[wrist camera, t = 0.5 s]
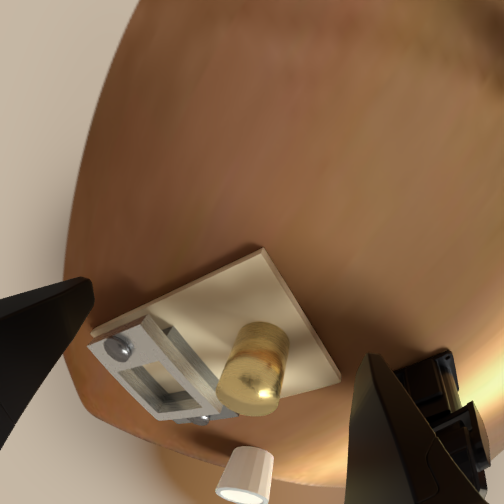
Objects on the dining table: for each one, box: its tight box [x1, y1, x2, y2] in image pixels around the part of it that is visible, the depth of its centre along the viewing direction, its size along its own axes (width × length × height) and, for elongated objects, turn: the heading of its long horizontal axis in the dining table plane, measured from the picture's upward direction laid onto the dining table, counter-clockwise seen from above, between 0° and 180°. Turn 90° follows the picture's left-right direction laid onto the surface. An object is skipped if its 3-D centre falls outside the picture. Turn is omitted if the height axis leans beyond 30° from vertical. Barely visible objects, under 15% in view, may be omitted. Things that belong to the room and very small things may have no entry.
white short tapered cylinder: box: [215, 446, 274, 504], centre depth 33 cm, size 7×7×7 cm
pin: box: [216, 321, 290, 416], centre depth 23 cm, size 4×4×6 cm
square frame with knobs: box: [87, 314, 239, 425], centre depth 28 cm, size 14×9×4 cm, turn 32°
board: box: [90, 247, 341, 398], centre depth 28 cm, size 14×22×1 cm, turn 122°
